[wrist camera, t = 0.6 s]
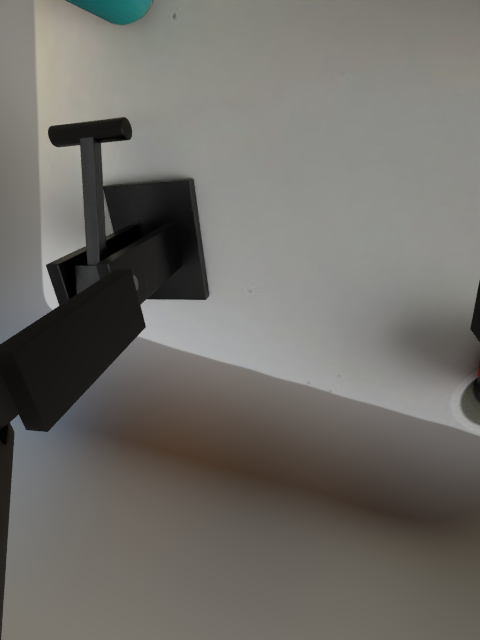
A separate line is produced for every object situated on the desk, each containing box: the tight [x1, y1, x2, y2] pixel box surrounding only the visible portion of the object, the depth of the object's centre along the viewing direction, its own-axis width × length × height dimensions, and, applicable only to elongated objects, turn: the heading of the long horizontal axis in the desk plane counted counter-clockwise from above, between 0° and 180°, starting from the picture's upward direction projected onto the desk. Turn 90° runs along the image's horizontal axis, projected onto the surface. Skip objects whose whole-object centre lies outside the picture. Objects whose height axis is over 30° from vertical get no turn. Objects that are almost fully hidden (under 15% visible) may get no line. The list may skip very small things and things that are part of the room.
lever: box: [48, 117, 132, 294], centre depth 27 cm, size 13×6×2 cm, turn 5°
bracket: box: [46, 179, 209, 306], centre depth 32 cm, size 12×9×14 cm
